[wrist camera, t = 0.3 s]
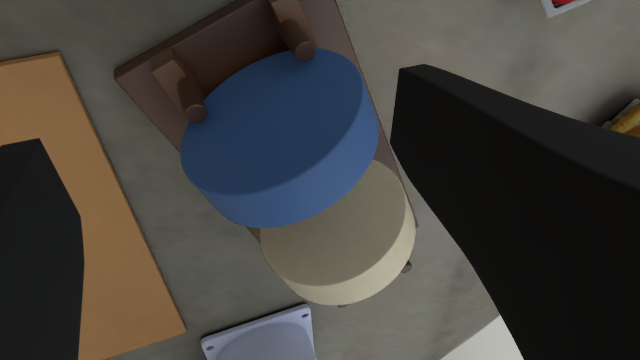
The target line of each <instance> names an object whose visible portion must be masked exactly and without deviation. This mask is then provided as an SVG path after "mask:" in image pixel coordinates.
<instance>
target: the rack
mask: <svg viewBox="0 0 640 360" xmlns="http://www.w3.org/2000/svg"><path fill="white" fill-rule="evenodd" d="M316 48H318V49H326V50H330V51H334V52H336V53H339V54H341V55H343V56H344V57H346V58H348V59H349V60H350V61H351V62H352V63H353V64H354V65H355V66H356V67H357V69H358V70H359V71H360V73H361V76H362V78H363V81H364V84H365V86H366V89H367V92H368V94H369V97H370V100H371V102H372V105H373V108H374V110H375V113H376V116H377V119H378V125H379V137H378V143H377V148H376V151H375V154H374V157H373V159H374V160H376V161H379V162H380V163H382V164H384V165H385V166H387V167H388V168H389V169H390V170H392V171H393V173H394V174H395V175H396V176H397V177H398V179H399V180H400V182H401V184H402V186H403V189H404V191H405V194H406V197H407V199H408V202H409V205H410V207H411V204H410V201H409V198H408V196H407V193H406V190H405V188H404V185H403V182H402V179H401V177H400V174H399V171H398V169H397V166H396V163H395V160H394V158H393V155H392V152H391V149H390V147H389V144H388V141H387V139H386V136H385V133H384V130H383V128H382V125H381V122H380V120H379V117H378V114H377V111H376V109H375V106H374V103H373V101H372V98H371V95H370V92H369V90H368V87H367V84H366V82H365V79H364V76H363V73H362V71H361V68H360V65H359V63H358V60H357V57H356V54H355V52H354V49H353V46H352V44H351V41H350V38H349V35H348V33H347V30H346V27H345V25H344V22H343V19H342V16H341V14H340V11H339V8H338V6H337V3H336V0H236V1H234V2H233V3H231V4H229V5H227V6H226V7H224V8H222V9H220V10H219V11H217V12H215V13H213V14H212V15H210V16H208V17H206V18H205V19H203V20H201V21H199V22H198V23H196V24H194V25H192V26H191V27H189V28H187V29H185V30H184V31H182V32H180V33H178V34H177V35H175V36H173V37H171V38H170V39H168V40H166V41H164V42H163V43H161V44H159V45H157V46H156V47H154V48H152V49H150V50H149V51H147V52H145V53H143V54H142V55H140V56H138V57H136V58H135V59H133V60H131V61H129V62H128V63H126V64H124V65H122V66H121V67H119V68H117V69H115V70H114V77H115V81H116V82H117V83H118V84H119V85H120V86H121V87H122V88H123V90H124V91H125V92H126V93H127V94H128V95H129V96H130V97H131V99H132V100H133V101H134V102H135V103H136V104H137V105H138V106H139V108H140V109H141V110H142V111H143V112H144V113H145V114H146V115H147V116H148V118H149V119H150V120H151V121H152V122H153V123H154V124H155V125H156V127H157V128H158V129H159V130H160V131H161V132H162V133H163V134H164V135H165V137H166V138H167V139H168V140H169V141H170V142H171V143H172V144H173V146H174V147H175V148H176V149H177V150H178V151H179V152H180V151H181V143H182V138H183V135H184V132H185V129H186V127H187V125H188V123H189V122H191V123H200V122H202V121H203V120H205V118H206V116H207V109H206V106H205V103H204V100H205V99H206V98H207V97H208V95H209V94H210V93H212V92H213V91H214V90H215V89H216V88H217V87H218V86H219V85H220V84H222V83H223V82H224V81H225V80H227V79H228V78H229V77H231V76H232V75H234V74H235V73H237V72H238V71H240V70H241V69H243V68H245V67H247V66H249V65H250V64H252V63H254V62H256V61H259V60H261V59H263V58H266V57H268V56H271V55H274V54H277V53H281V52H285V51H289V50H290V51H291V52H292V54H293V55H294V57H295V58H296V60H298V61H299V62H308V61H310V60H311V59H312V58H313V57H314V55H315V52H316ZM411 210H412V213H413V216H414V220H415V228H417V227H418V223H417V220H416V217H415V215H414V212H413V209H412V207H411ZM246 227H247V226H246ZM247 228H248V229H249V231H250V232H251V233H252V234H253V235H254V236H255V237H256V238H257V240H258V241H259V242H260V228H254V227H247ZM260 243H261V242H260ZM411 268H412V265H411V263H410V262H409V260H408V261H407V263H406V264H405V266H404V268H403V269H402V270H401V273H406V272H408V271H410V270H411ZM347 305H348V304H346V305H337V306H338V307H339V308H343V307H345V306H347Z"/></svg>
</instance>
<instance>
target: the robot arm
mask: <svg viewBox="0 0 640 360" xmlns="http://www.w3.org/2000/svg"><path fill="white" fill-rule="evenodd" d="M390 144H391V146H392V148H393V150H394V152H395V154H396V156H397V158H398V160H399V162H400V164H401V166H402V168H403V169H404V171H405V173H406V175H407V176H408V178H409V180H410V181H411V182H412V184H413V185H414V187H415V188H416V189H417V191H418V192H419V193H420V195H421V196H422V198H423V199H424V200H425V202H426V203H427V204H428V206H429V207H430V208H431V210H432V211H433V212H434V214H435V215H436V216H437V218H438V219H439V220H440V222H441V223H442V224H443V226H444V227H445V228H446V230H447V231H448V232H449V234H450V235H451V236H452V238H453V239H454V240H455V242H456V243H457V244H458V246H459V247H460V248H461V250H462V251H463V253H464V254H465V256H466V257H467V259H468V260H469V262H470V263H471V265H472V266H473V268H474V270H475V271H476V273H477V275H478V276H479V278H480V280H481V282H482V283H483V285H484V287H485V288H486V290H487V292H488V293H489V295H490V297H491V299H492V300H493V302H494V304H495V306H496V308H497V309H498V311H499V313H500V315H501V317H502V318H503V320H504V322H505V324H506V326H507V328H508V329H509V331H510V333H511V335H512V337H513V339H514V341H515V343H516V345H517V346H518V349H519V350H520V353H521V355H522V356H523V359H524V360H640V137H636V136H632V135H628V134H624V133H621V132H617V131H613V130H610V129H606V128H602V127H599V126H595V125H592V124H588V123H585V122H581V121H578V120H575V119H572V118H569V117H566V116H563V115H560V114H557V113H554V112H551V111H548V110H546V109H543V108H540V107H537V106H534V105H532V104H529V103H526V102H524V101H521V100H518V99H516V98H513V97H511V96H508V95H506V94H503V93H501V92H498V91H496V90H493V89H491V88H488V87H486V86H483V85H481V84H478V83H476V82H473V81H471V80H468V79H466V78H463V77H461V76H458V75H456V74H453V73H450V72H448V71H445V70H442V69H439V68H436V67H433V66H429V65H426V64H422V65H416V66H411V67H406V68H401V69H399V76H398V83H397V91H396V99H395V107H394V115H393V122H392V130H391V138H390ZM84 263H85V261H84V246H83V235H82V224H81V216H80V214H79V212H78V210H77V208H76V206H75V204H74V203H73V201H72V199H71V197H70V195H69V193H68V191H67V189H66V187H65V185H64V184H63V182H62V180H61V178H60V176H59V174H58V172H57V170H56V168H55V166H54V165H53V163H52V161H51V159H50V157H49V155H48V153H47V151H46V149H45V148H44V146H43V144H42V142H41V140H40V138H37V139H31V140H26V141H21V142H16V143H11V144H5V145H2V146H1V147H0V360H78V355H79V340H80V326H81V312H82V297H83V281H84ZM201 347H202V349H203V352H204V354H205V356H206V358H207V360H317V358H316V355H315V353H314V345H313V333H312V321H311V309H310V307H309V305H308V304H302V305H299V306H296V307H293V308H290V309H287V310H284V311H281V312H278V313H275V314H272V315H269V316H266V317H263V318H260V319H257V320H254V321H251V322H248V323H245V324H242V325H239V326H236V327H233V328H230V329H227V330H224V331H221V332H218V333H215V334H212V335H209V336H206V337H204V338H203V339H202V340H201Z"/></svg>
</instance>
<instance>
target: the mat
mask: <svg viewBox="0 0 640 360" xmlns="http://www.w3.org/2000/svg"><path fill="white" fill-rule="evenodd" d="M37 138H40V140H41V142H42V144H43V146H44V148H45V149H46V151H47V153H48V155H49V157H50V159H51V161H52V163H53V165H54V166H55V168H56V170H57V172H58V174H59V176H60V178H61V180H62V182H63V184H64V185H65V187H66V189H67V191H68V193H69V195H70V197H71V199H72V201H73V203H74V204H75V206H76V208H77V210H78V212H79V214H80V216H81V224H82V235H83V246H84V261H85V263H84V281H83V297H82V312H81V326H80V340H79V355H78V360H105V359H108V358H111V357H114V356H117V355H120V354H123V353H126V352H129V351H132V350H135V349H138V348H141V347H144V346H147V345H150V344H153V343H156V342H159V341H162V340H165V339H168V338H171V337H174V336H178V335H181V334H184V333H186V332H187V330H186V326H185V324H184V322H183V320H182V318H181V315H180V313H179V311H178V309H177V307H176V305H175V302H174V300H173V298H172V296H171V294H170V291H169V289H168V287H167V285H166V283H165V281H164V278H163V276H162V274H161V272H160V270H159V267H158V265H157V263H156V261H155V259H154V257H153V254H152V252H151V250H150V248H149V246H148V244H147V241H146V239H145V237H144V235H143V233H142V230H141V228H140V226H139V224H138V222H137V220H136V217H135V215H134V213H133V211H132V209H131V206H130V204H129V202H128V200H127V198H126V196H125V193H124V191H123V189H122V187H121V185H120V183H119V180H118V178H117V176H116V174H115V172H114V169H113V167H112V165H111V163H110V161H109V159H108V156H107V154H106V152H105V150H104V148H103V145H102V143H101V141H100V139H99V137H98V135H97V132H96V130H95V128H94V126H93V124H92V122H91V119H90V117H89V115H88V113H87V111H86V108H85V106H84V104H83V102H82V100H81V98H80V95H79V93H78V91H77V89H76V87H75V84H74V82H73V80H72V78H71V76H70V74H69V71H68V69H67V67H66V65H65V63H64V61H63V58H62V56H61V54H60V52H53V53H48V54H42V55H36V56H31V57H25V58H19V59H14V60H8V61H2V62H0V147H1V146H2V145H5V144H11V143H16V142H21V141H26V140H31V139H37Z"/></svg>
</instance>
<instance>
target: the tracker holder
mask: <svg viewBox="0 0 640 360" xmlns="http://www.w3.org/2000/svg"><path fill="white" fill-rule="evenodd" d="M589 1H591V0H539V2H540V4H541V7H542V10H543V12H544V15H545V17H547V18H551V17H553V16H556V15H558V14H560V13H563V12H565V11H568V10H570V9H572V8H575V7H577V6H580V5H582V4H584V3H587V2H589ZM554 4H558V5H554Z"/></svg>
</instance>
